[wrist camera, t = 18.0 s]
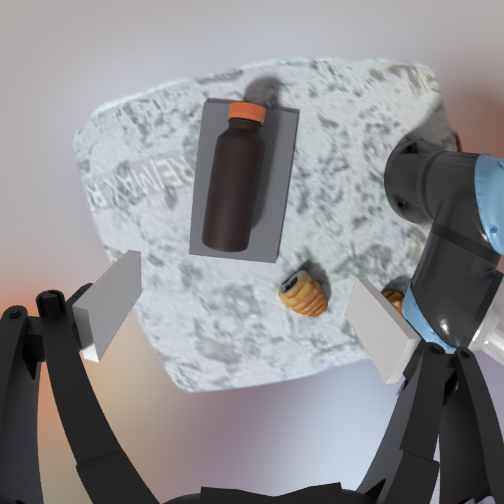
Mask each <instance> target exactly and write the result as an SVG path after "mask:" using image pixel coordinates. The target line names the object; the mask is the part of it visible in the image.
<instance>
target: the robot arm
mask: <svg viewBox="0 0 504 504" xmlns="http://www.w3.org/2000/svg"><path fill="white" fill-rule="evenodd" d="M384 186H385V192H386V196H387V199H388V201H389V203H390V205H391V207H392V208H393V210H394V211H395V212H396V213H397V214H398V215H399V216H400V217H402V218H403V219H405V220H408V221H410V222H412V223H417V224H427V223H433V225H432V228H431V231H430V233H429V236H428V239H427V242H426V245H425V247H424V250H423V253H422V255H421V258H420V260H419V263H418V265H417V268H416V270H415V272H414V275H413V277H412V278H411V279H410V281H409V286H408V289H407V292H406V294H405V297H404V299H403V302H402V313H403V315H404V317H402V316H401V315H400V314H399V313H398V311H397V310H396V309H395V308H394V307H393V306H392V305H391V304H390V303H389V302H388V301H387V299H386V298H385V297H384V296H383V295H382V294H381V293H380V292H379V291H378V290H377V289H376V288H375V287H374V286H373V284H372V283H371V282H370V281H369V280H368V279H367V278H359V277H356V280H355V284H354V287H353V290H352V293H351V296H350V300H349V303H348V306H347V309H346V312H345V317H346V318H347V320H348V321H349V323H350V325H351V326H352V328H353V330H354V331H355V333H356V335H357V336H358V338H359V340H360V341H361V343H362V345H363V346H364V348H365V350H366V352H367V353H368V355H369V357H370V358H371V360H372V362H373V363H374V365H375V367H376V369H377V370H378V372H379V374H380V376H381V378H382V379H383V381H384V383H385V384H392V383H397V382H398V381H399V379H400V377H401V375H402V374H403V375H404V376H405V378H406V379H405V381H404V382H403V384H402V385H401V387H400V389H399V390H398V392H397V393H396V395H398V394H399V397H398V399H397V402H396V405H395V408H394V411H393V414H392V416H391V419H390V422H389V424H388V427H387V429H386V432H385V435H384V437H383V439H382V442H381V444H380V446H379V448H378V451H377V453H376V455H375V457H374V459H373V461H372V463H371V465H370V467H369V469H368V471H367V474H366V475H365V477H364V479H363V481H362V483H361V484H360V486H359V487H358V488H357V490H356V491H352V490H346V489H342V487H341V483H340V482H338V483H331V484H325V485H318V486H310V487H307V488H304V489H301V490H297V491H294V492H291V493H287V494H284V495H280V496H275V497H273V496H267V495H261V494H256V493H251V492H247V491H242V490H238V489H221V488H210V487H201V493H198V494H189V495H184V496H181V497H177V498H174V499H172V500H169V501H167V502H165V503H163V504H430V501H431V498H432V495H433V491H434V488H435V484H436V480H437V477H438V473H439V468H440V497H439V504H504V442H503V438H502V434H501V430H500V426H499V423H498V419H497V415H496V412H495V409H494V406H493V402H492V399H491V397H490V393H489V391H488V388H487V385H486V382H485V380H484V377H483V375H482V372H481V370H480V367H479V365H478V362H477V360H476V358H475V355H474V354H473V353H472V351H476V350H483V351H484V352H485V353H487V354H488V355H489V356H491V357H492V358H494V359H495V360H496V361H498V362H499V363H501V364H502V365H503V366H504V274H503V273H501V272H499V271H498V270H497V269H496V268H497V265H498V262H499V260H500V257H501V254H502V255H504V159H503V158H499V157H494V156H492V155H489V154H485V153H483V154H477V153H465V152H450V151H445V150H443V149H441V148H439V147H438V146H436V145H434V144H432V143H430V142H428V141H424V140H409V141H406V142H403V143H401V144H400V145H399V146H397V147H396V148H395V149H394V151H393V152H392V153H391V155H390V157H389V159H388V161H387V164H386V168H385V174H384ZM141 293H142V289H141V252H140V251H133V250H129V251H128V252H127V253H125V254H124V255H123V256H122V257H121V258H120V259H119V260H118V261H117V262H116V263H115V264H114V265H113V266H111V267H110V268H109V269H108V270H107V271H106V272H105V273H104V274H103V275H102V276H101V277H100V278H99V279H98V280H97V281H96V282H95V283H94V284H93V283H88V284H86V285H84V286H82V287H81V288H80V289H78V290H77V292H76V293H74V294H73V295H72V297H70V298H69V299H68V300H67V301H66V302H65V298H64V295H63V293H62V292H60V291H58V290H48V291H44V292H42V293H40V294H39V295H38V296H37V297H36V303H37V307H38V312H39V316H40V317H34V316H28V313H27V309H26V308H25V307H23V306H19V305H17V306H12V307H9V308H8V309H7V310H5V312H4V313H3V316H2V318H1V320H0V504H44V503H43V494H42V488H41V481H40V472H39V463H38V462H39V461H38V446H37V409H38V408H37V407H38V392H39V380H40V372H41V364H42V362H46V363H47V368H48V373H49V378H50V382H51V386H52V390H53V395H54V398H55V402H56V405H57V409H58V412H59V416H60V419H61V422H62V425H63V428H64V431H65V434H66V436H67V439H68V442H69V445H70V447H71V449H72V452H73V455H74V457H75V459H76V462H77V465H76V469H77V472H78V475H79V477H80V479H81V481H82V483H83V485H84V487H85V489H86V491H87V493H88V495H89V497H90V499H91V501H92V502H93V504H160V503H159V502H158V500H157V499H156V498H155V497H154V495H153V494H152V493H151V491H150V490H149V488H148V487H147V486H146V484H145V483H144V481H143V480H142V479H141V477H140V475H139V474H138V472H137V471H136V469H135V468H134V466H133V465H132V463H131V462H130V460H129V458H128V457H127V455H126V453H125V452H124V451H123V449H122V448H121V446H120V444H119V443H118V441H117V439H116V437H115V436H114V433H113V431H112V430H111V428H110V426H109V424H108V422H107V420H106V418H105V416H104V413H103V412H102V409H101V407H100V405H99V403H98V400H97V399H96V396H95V394H94V391H93V389H92V386H91V384H90V381H89V379H88V376H87V374H86V371H85V368H84V366H83V363H82V360H81V357H80V354H79V351H80V350H81V349H82V351H83V355H84V358H85V359H88V360H92V361H95V362H99V361H100V360H101V358H102V356H103V355H104V353H105V351H106V349H107V348H108V346H109V344H110V343H111V341H112V339H113V338H114V336H115V334H116V333H117V331H118V329H119V328H120V326H121V325H122V323H123V321H124V320H125V318H126V317H127V315H128V313H129V312H130V310H131V309H132V307H133V306H134V304H135V303H136V301H137V299H138V298H139V296H140V295H141ZM454 351H455V352H454ZM453 352H454V354H450V353H453ZM457 386H458V388H457ZM456 388H457V390H456ZM438 434H439V448H440V464H439V462H438V461H435V460H433V457H434V453H435V448H436V443H437V439H438Z"/></svg>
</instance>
